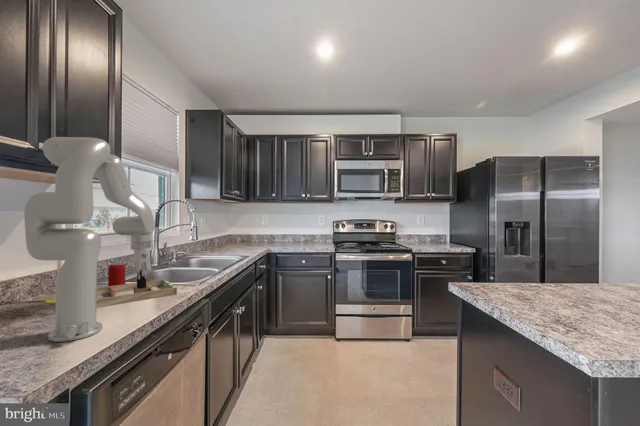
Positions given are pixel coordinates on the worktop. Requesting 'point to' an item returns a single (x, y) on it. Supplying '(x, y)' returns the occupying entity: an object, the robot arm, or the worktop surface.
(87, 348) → the worktop surface
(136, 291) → the block
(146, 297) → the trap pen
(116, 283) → the beverage can
